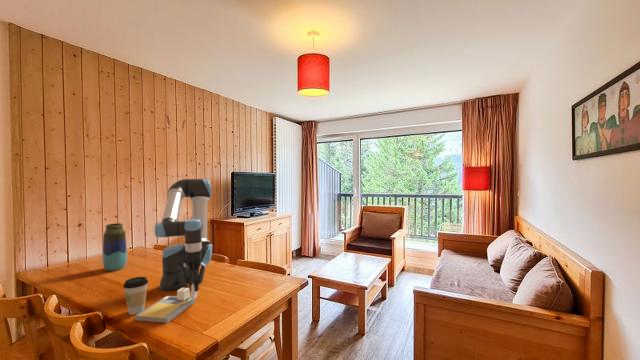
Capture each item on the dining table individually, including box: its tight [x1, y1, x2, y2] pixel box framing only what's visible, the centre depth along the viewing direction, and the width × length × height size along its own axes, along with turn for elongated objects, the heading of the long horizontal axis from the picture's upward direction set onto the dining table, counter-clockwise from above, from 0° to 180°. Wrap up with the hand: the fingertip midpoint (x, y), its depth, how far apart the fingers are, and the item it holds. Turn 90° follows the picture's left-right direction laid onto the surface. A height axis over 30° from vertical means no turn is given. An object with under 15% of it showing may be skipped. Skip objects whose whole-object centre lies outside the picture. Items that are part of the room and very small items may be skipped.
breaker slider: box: [176, 287, 191, 300], centre depth 136 cm, size 4×4×5 cm
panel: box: [134, 295, 197, 324], centre depth 129 cm, size 16×20×2 cm
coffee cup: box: [123, 276, 149, 316], centre depth 129 cm, size 10×10×15 cm
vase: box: [101, 222, 128, 272], centre depth 189 cm, size 14×14×31 cm
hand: (194, 297), depth 136 cm, fingers closed
